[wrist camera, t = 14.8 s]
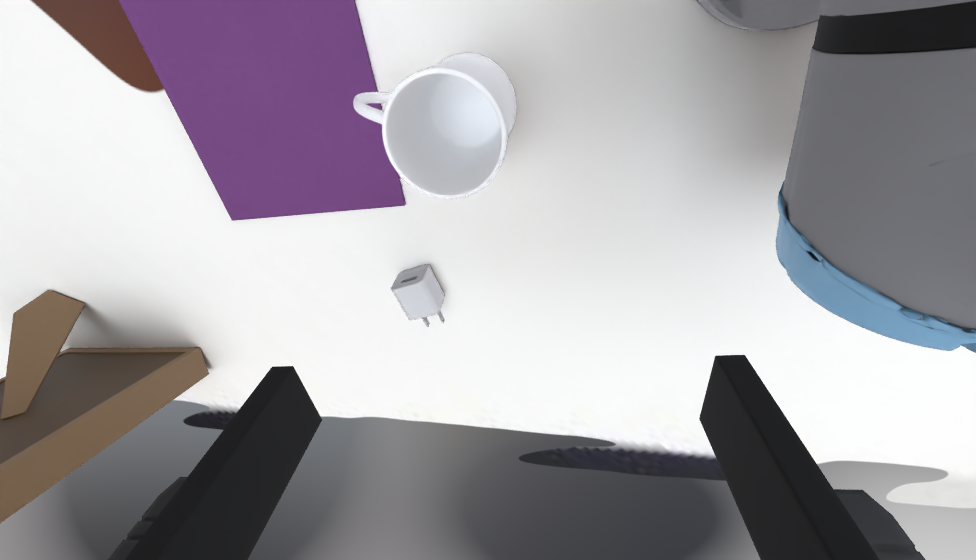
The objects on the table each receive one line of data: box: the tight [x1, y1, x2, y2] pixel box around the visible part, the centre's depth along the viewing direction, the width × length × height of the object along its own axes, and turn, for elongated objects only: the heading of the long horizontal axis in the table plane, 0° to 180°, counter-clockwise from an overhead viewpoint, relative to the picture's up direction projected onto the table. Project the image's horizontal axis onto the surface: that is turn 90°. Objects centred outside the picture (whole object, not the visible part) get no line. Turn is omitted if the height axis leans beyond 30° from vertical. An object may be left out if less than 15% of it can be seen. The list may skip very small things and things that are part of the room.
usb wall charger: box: [391, 264, 445, 327], centre depth 44 cm, size 4×7×4 cm, turn 20°
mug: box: [353, 53, 516, 199], centre depth 30 cm, size 12×8×12 cm
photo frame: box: [0, 290, 209, 523], centre depth 44 cm, size 15×22×25 cm
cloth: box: [119, 0, 405, 220], centre depth 36 cm, size 20×20×1 cm
